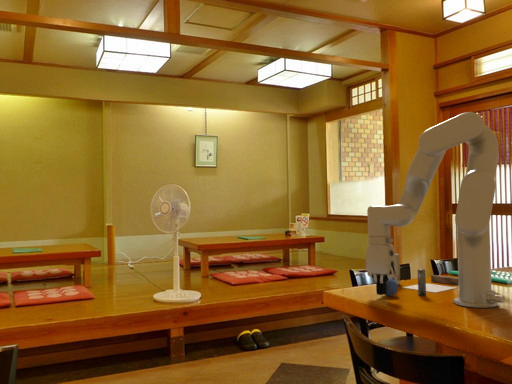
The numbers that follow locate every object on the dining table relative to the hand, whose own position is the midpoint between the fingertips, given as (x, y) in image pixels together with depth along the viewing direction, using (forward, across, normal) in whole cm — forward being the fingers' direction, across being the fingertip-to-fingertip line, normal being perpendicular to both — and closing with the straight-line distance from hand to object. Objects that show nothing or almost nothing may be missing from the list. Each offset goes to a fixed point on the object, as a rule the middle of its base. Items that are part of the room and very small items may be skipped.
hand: (381, 294), depth 162 cm
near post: (+1, -7, -14) cm, 15 cm away
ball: (-2, 0, -5) cm, 5 cm away
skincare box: (+2, +14, -24) cm, 28 cm away
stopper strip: (+1, -1, -42) cm, 42 cm away
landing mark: (+1, 0, -28) cm, 28 cm away
